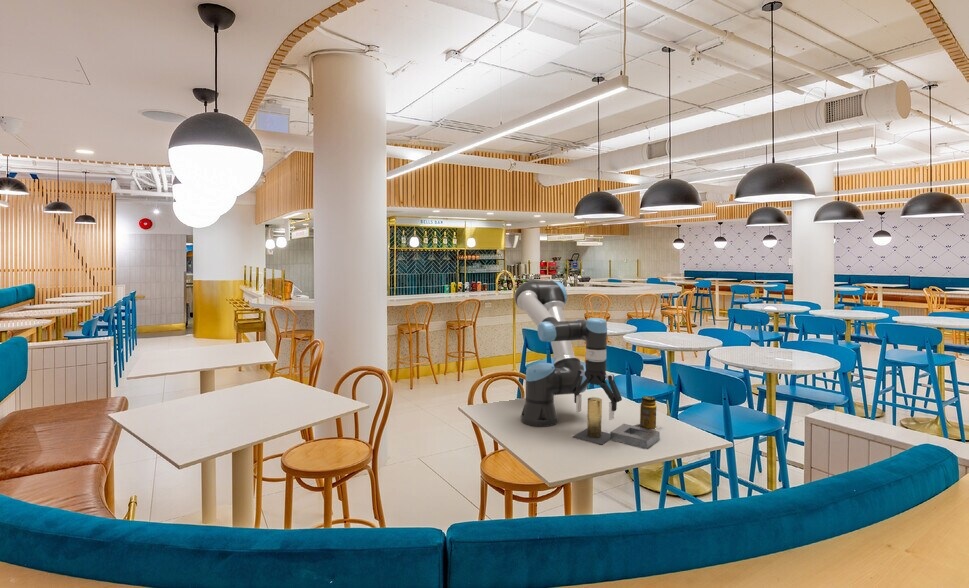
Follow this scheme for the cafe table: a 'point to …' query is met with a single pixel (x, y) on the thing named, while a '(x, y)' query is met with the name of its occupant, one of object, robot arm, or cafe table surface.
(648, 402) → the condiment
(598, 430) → the gold rounded cylinder
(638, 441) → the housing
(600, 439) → the mat
